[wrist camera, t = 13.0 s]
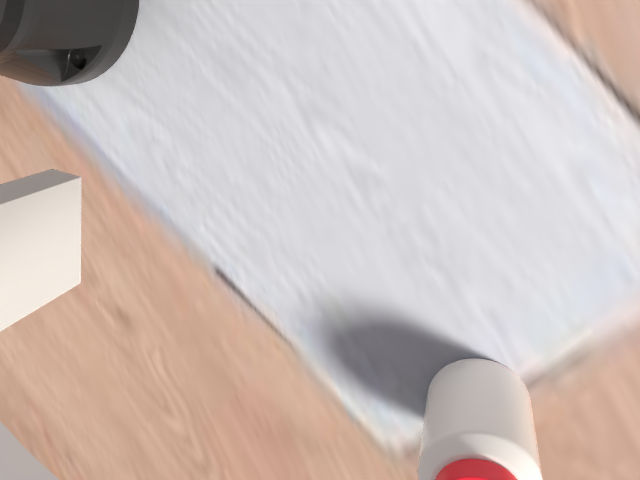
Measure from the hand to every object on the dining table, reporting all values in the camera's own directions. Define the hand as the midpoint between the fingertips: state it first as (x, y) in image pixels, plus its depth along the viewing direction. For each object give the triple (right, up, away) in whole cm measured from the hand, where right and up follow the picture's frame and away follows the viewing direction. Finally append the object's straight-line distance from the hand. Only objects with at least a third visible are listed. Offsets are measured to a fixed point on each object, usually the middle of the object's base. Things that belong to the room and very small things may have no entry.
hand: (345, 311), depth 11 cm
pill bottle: (+12, -11, +31) cm, 35 cm away
